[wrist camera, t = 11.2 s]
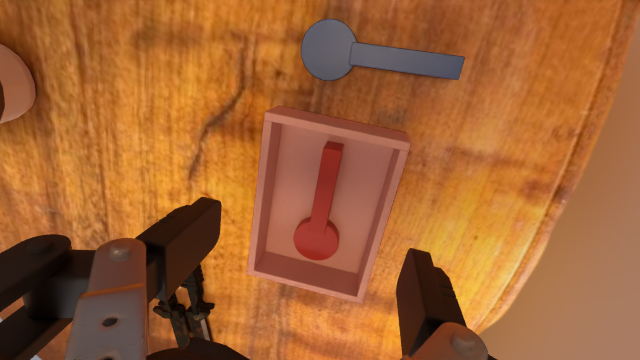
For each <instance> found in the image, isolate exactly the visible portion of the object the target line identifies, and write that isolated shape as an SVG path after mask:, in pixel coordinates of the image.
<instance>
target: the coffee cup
mask: <svg viewBox="0 0 640 360" xmlns="http://www.w3.org/2000/svg"><path fill="white" fill-rule="evenodd" d="M35 98H36V93H35V83H34V80H33V78H32V75H31V73H30V70H29V69H28V67H27V66H26V65H25V63H24V62H23V61H22V59H21V58H20V57H19V56H18V55H17V54H15V53H14V52H13V51H12V50H10V49H9V48H8V47H6V46H4V45H1V44H0V123H4V122H7V121H10V120H13V119H16V118H18V117H20V116H21V115H22V114H24V113H25V112H26V111H27V110H29V109H30V108H31V107H32V106H33V103H34V100H35Z"/></svg>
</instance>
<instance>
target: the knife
mask: <svg viewBox="0 0 640 360" xmlns="http://www.w3.org/2000/svg"><path fill="white" fill-rule="evenodd" d="M200 268H201V266H200V265H198V266H197V267H196V268H195V269H194V270H193V272H192V273H191V274H190V275H189V276H188V277H187V278H186V280H185V281H184V282H183V283H182V284H181V285H180V286H181V287H184V288H187V290H188V294H189V297H190V301H191V305H192V306H190V307H189V308H188V309H187V311H186V316H187V320H189V323H190V327H191V331H189V328H188V324H187V320H186V317H185V312H184V308H183V306H180V305H177V300H176V296H175V293H173V294H172V296H171V299H170V300H167V301H163V300H160V302H159V303H158V305H159V306H155V307H154V308H153V311H154V312H155V313H157V314H158V315H160V316H162V317H163V318H168V319H170V321H171V324H172V327H173V331H174V334H175V337H176V340H177V344H178V347H179V348H181V347H187V346H188V344H189V343H190V341H191V340H192V338H191V337H194V336H195V337H199V338H202V339H205V340H209V341H210V339H209V335H208V331H207V327H206V323H205V319H204V318H206V317H207V316H208V315H209V314H210V310H211V309H213V308H214V304H210V303H205V304H204V303H203V302H202V295H203V288H202V284H201V283H202V282H203V281H204V279H203V278H202V276H203V274H201V272H202V270H200ZM184 283H185V284H184Z"/></svg>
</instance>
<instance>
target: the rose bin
mask: <svg viewBox="0 0 640 360" xmlns="http://www.w3.org/2000/svg"><path fill="white" fill-rule="evenodd" d="M327 141H331V142H336V143H341V144H344V148H343V153H342V158H341V163H340V168H339V172H338V177H337V182H336V187H335V192H334V196H333V201H332V206H331V211H330V216H329V220H330V221H331V222H332V223H333V224H334V225H335V226H336V228H337V230H338V232H339V244H338V248H337V251H336V252H335V254H334V255H333V256H331V257H330V258H328V259H325V260H321V261H316V260H311V259H308V258H306V257H304V256H303V255H301V254H300V253H299V252H298V250H297V249H296V247H295V245H294V240H293V237H294V233H295V230H296V228H297V226H298V224H299V223H300V222H301V221H302V220H304V219H306V218H308V217H311V213H312V207H313V202H314V196H315V190H316V185H317V179H318V174H319V168H320V163H321V157H322V152H323V148H324V146H325V144H326V142H327ZM410 146H411V142H410V140H409V138H408V136H407V135H406V133H405V132H401V131H396V130H392V129H387V128H382V127H377V126H373V125H368V124H363V123H359V122H354V121H349V120H345V119H340V118H335V117H331V116H326V115H321V114H316V113H312V112H307V111H302V110H298V109H293V108H288V107H284V106H277V107H275V108H273V109H270V110H268V111H266V112H265V116H264V125H263V134H262V142H261V151H260V160H259V169H258V178H257V187H256V196H255V205H254V214H253V223H252V232H251V240H250V249H249V258H248V267H247V268H248V269H247V274H249V275H252V276H256V277H260V278H264V279H268V280H272V281H276V282H279V283H283V284H287V285H291V286H295V287H299V288H303V289H306V290H310V291H314V292H318V293H322V294H326V295H330V296H333V297H337V298H341V299H345V300H349V301H353V302H357V303H360V304H362V302H363V298H364V296H365V292H366V289H367V286H368V283H369V279H370V276H371V273H372V270H373V266H374V263H375V260H376V257H377V253H378V250H379V247H380V244H381V240H382V237H383V234H384V231H385V227H386V224H387V221H388V218H389V214H390V211H391V208H392V205H393V201H394V198H395V195H396V192H397V188H398V185H399V182H400V179H401V175H402V172H403V169H404V166H405V162H406V159H407V156H408V153H409V152H408V151H409V150H410Z"/></svg>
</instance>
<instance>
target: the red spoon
mask: <svg viewBox="0 0 640 360" xmlns="http://www.w3.org/2000/svg"><path fill="white" fill-rule="evenodd" d="M343 148H344V144H341V143H336V142H331V141H327V142H326V144H325V146H324V148H323V152H322V157H321V163H320V168H319V174H318V179H317V185H316V190H315V196H314V202H313V207H312V213H311V217H308V218H306V219H304V220H302V221H301V222H300V223H299V224H298V226H297V228H296V230H295V233H294V237H293V240H294V245H295V247H296V249H297V250H298V252H299V253H300V254H301V255H303V256H304V257H306V258H308V259H311V260H316V261H321V260H325V259H328V258H330V257H331V256H333V255H334V254H335V252H336V251H337V248H338V244H339V232H338V230H337V228H336V226H335V225H334V224H333V223H332V222H331V221H330V220H329V216H330V211H331V206H332V201H333V196H334V192H335V187H336V182H337V177H338V172H339V168H340V163H341V158H342V153H343Z"/></svg>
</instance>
